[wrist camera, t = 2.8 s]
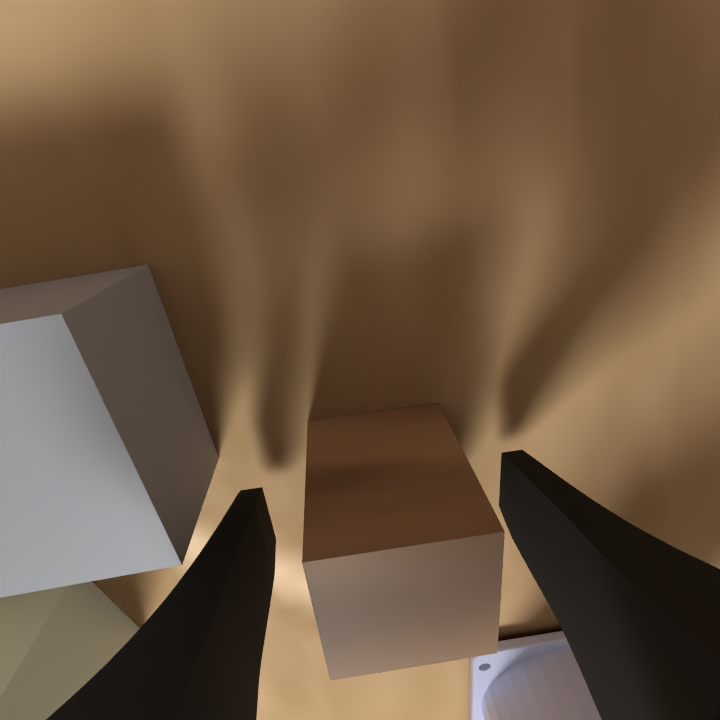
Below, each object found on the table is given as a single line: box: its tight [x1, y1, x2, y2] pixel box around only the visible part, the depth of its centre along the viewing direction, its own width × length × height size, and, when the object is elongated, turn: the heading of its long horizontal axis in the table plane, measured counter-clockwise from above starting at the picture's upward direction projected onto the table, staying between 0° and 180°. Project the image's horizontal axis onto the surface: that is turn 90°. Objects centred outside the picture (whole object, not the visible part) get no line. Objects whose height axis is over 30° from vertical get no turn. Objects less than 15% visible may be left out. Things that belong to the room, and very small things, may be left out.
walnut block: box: [302, 403, 504, 681], centre depth 11 cm, size 4×4×5 cm
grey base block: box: [0, 265, 219, 598], centre depth 10 cm, size 6×6×4 cm
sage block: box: [0, 581, 140, 720], centre depth 13 cm, size 4×4×5 cm
